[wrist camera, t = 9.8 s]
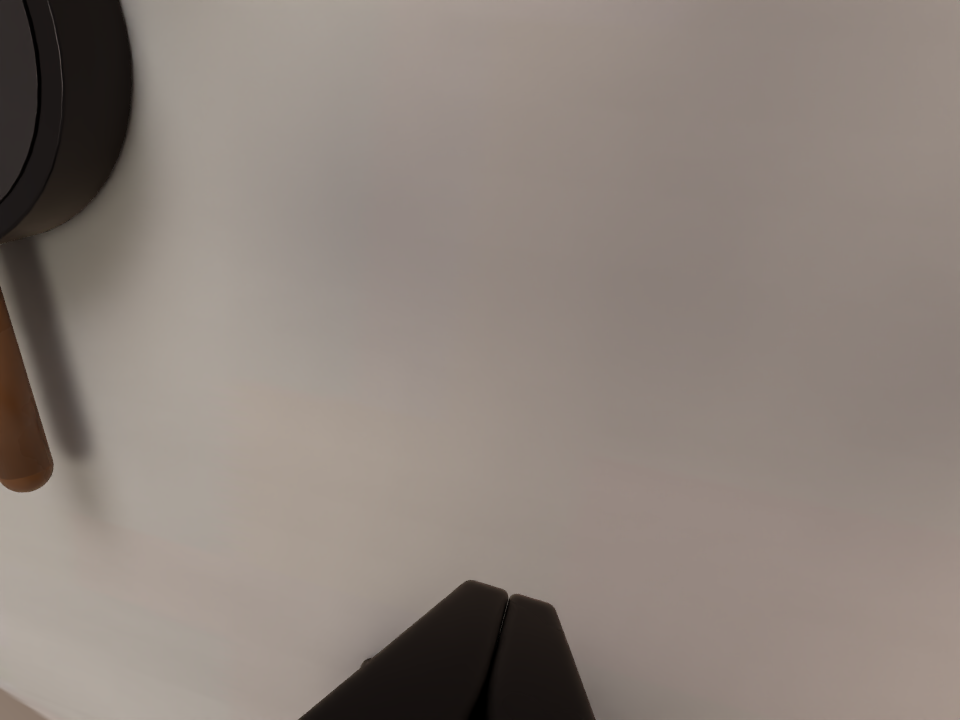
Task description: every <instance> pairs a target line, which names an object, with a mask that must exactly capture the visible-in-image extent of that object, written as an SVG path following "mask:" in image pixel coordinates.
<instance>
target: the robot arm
mask: <svg viewBox="0 0 960 720" xmlns="http://www.w3.org/2000/svg"><path fill="white" fill-rule="evenodd" d="M507 603H508V605H507ZM506 607H507V608H506ZM505 610H506V612H505ZM504 614H505V616H504ZM503 618H504V619H503ZM502 622H503V623H502ZM501 626H502V627H501ZM499 633H500V634H499ZM498 637H499V638H498ZM298 720H596V719H595V717H594V714H593V711H592V708H591V706H590V703H589V700H588V697H587V695H586V692H585V689H584V687H583V684H582V681H581V678H580V676H579V673H578V670H577V667H576V665H575V662H574V659H573V656H572V654H571V651H570V648H569V645H568V643H567V640H566V637H565V634H564V632H563V629H562V626H561V623H560V621H559V618H558V615H557V613H556V610H555V608H554V607H553V606H552V605H551V604H549V603H547V602H543V601H540V600H537V599H534V598H530V597H527V596H524V595H520V594H514V595H512V596H511V597H510V598H509V601H508V593H507V592H506V591H505V590H503V589H501V588H497V587H494V586H491V585H488V584H484V583H481V582H478V581H475V580H468V581H465V582H464V583H463V584H461V585H460V586H459V587H458V588H456V589H455V590H454V591H453V592H452V593H450V594H449V595H448V596H447V597H446V598H444V599H443V600H442V601H441V602H440V603H438V604H437V605H436V606H435V607H434V608H432V609H431V610H430V611H429V612H428V613H426V614H425V615H424V616H423V617H421V618H420V619H419V620H418V621H417V622H415V623H414V624H413V625H412V626H411V627H409V628H408V629H407V630H406V631H405V632H403V633H402V634H401V635H400V636H399V637H397V638H396V639H395V640H394V641H392V642H391V643H390V644H389V645H388V646H386V647H385V648H384V649H383V650H382V651H380V652H379V653H378V654H377V655H376V656H374V657H373V658H369V659H367V660H365V661H364V662H363V663H362V665H361V667H360V669H359V670H357V671H356V672H355V673H354V674H353V675H351V676H350V677H349V678H348V679H347V680H345V681H344V682H343V683H342V684H341V685H339V686H338V687H337V688H336V689H335V690H333V691H332V692H331V693H330V694H329V695H327V696H326V697H325V698H324V699H322V700H321V701H320V702H319V703H318V704H316V705H315V706H314V707H313V708H312V709H310V710H309V711H308V712H307V713H306V714H304V715H303V716H302V717H301V718H300V719H298Z"/></svg>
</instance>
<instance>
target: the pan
mask: <svg viewBox="0 0 960 720" xmlns="http://www.w3.org/2000/svg"><path fill="white" fill-rule="evenodd" d="M131 87H132V80H131V61H130V51H129V45H128V39H127V32H126V26H125V22H124V19H123V15H122V11H121V8H120V4H119V0H0V244H4V243H7V242H11V241H15V240H19V239H22V238H26V237H30V236H33V235H37V234H40V233H43V232H47V231H49V230H51V229H53V228H55V227H57V226H60V225H62V224H64V223H65V222H67V221H68V220H70V219H71V218H72V217H74V216H75V215H77V214H78V213H79V212H81V211H82V210H83V209H84V208H85V207H86V206H87V205H88V204H89V203H90V202H91V200H92V199H93V198H94V197H95V196H96V195H97V194H98V192H99V191H100V189H101V188H102V186H103V185H104V184H105V182H106V181H107V179H108V178H109V176H110V174H111V172H112V169H113V167H114V165H115V163H116V161H117V159H118V157H119V154H120V151H121V148H122V145H123V141H124V138H125V135H126V130H127V124H128V119H129V113H130V104H131ZM53 465H54V464H53V459H52V455H51V452H50V449H49V446H48V442H47V439H46V436H45V432H44V429H43V426H42V422H41V419H40V416H39V412H38V409H37V406H36V402H35V399H34V396H33V393H32V389H31V386H30V383H29V379H28V376H27V373H26V369H25V366H24V363H23V359H22V356H21V353H20V349H19V346H18V343H17V339H16V336H15V333H14V330H13V326H12V323H11V320H10V316H9V313H8V310H7V306H6V303H5V300H4V296H3V293H2V290H1V286H0V482H1V483H2V484H3V485H4V486H5V487H6V488H8V489H10V490H12V491H15V492H31V491H34V490H37V489H38V488H40V487H42V486H43V485H44V484H45V483H46V482H47V481H48V480H49V479H50V477H51V475H52V472H53Z"/></svg>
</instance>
